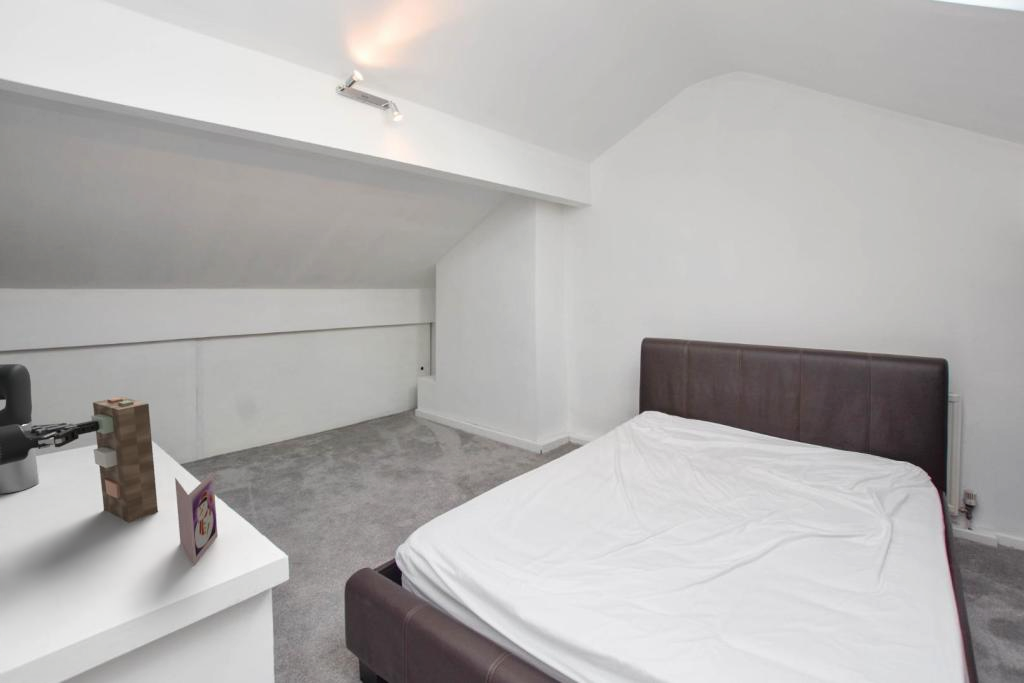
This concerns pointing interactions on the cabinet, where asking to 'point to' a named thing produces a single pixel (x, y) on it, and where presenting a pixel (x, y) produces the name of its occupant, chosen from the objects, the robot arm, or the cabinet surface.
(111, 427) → the key top
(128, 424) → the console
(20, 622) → the cabinet surface
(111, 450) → the key middle
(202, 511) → the greeting card
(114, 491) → the block
